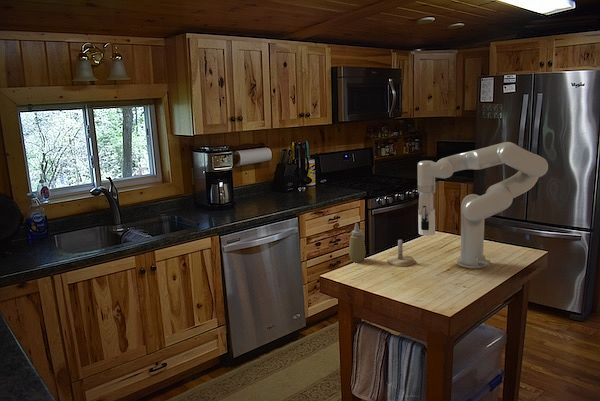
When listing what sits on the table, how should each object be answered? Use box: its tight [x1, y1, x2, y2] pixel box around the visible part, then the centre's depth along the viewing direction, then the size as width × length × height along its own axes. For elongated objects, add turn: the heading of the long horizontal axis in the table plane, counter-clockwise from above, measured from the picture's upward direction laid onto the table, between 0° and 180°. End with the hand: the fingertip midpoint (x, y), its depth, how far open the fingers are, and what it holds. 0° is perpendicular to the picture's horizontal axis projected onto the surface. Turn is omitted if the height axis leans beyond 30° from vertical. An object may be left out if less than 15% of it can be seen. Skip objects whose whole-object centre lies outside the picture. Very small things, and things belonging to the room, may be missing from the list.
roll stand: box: [386, 239, 415, 268], centre depth 220 cm, size 12×12×10 cm
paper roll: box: [417, 208, 436, 237], centre depth 215 cm, size 7×7×11 cm
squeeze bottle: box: [348, 222, 367, 263], centre depth 225 cm, size 8×8×18 cm
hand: (426, 227), depth 216 cm, fingers closed on paper roll, 7 cm apart
